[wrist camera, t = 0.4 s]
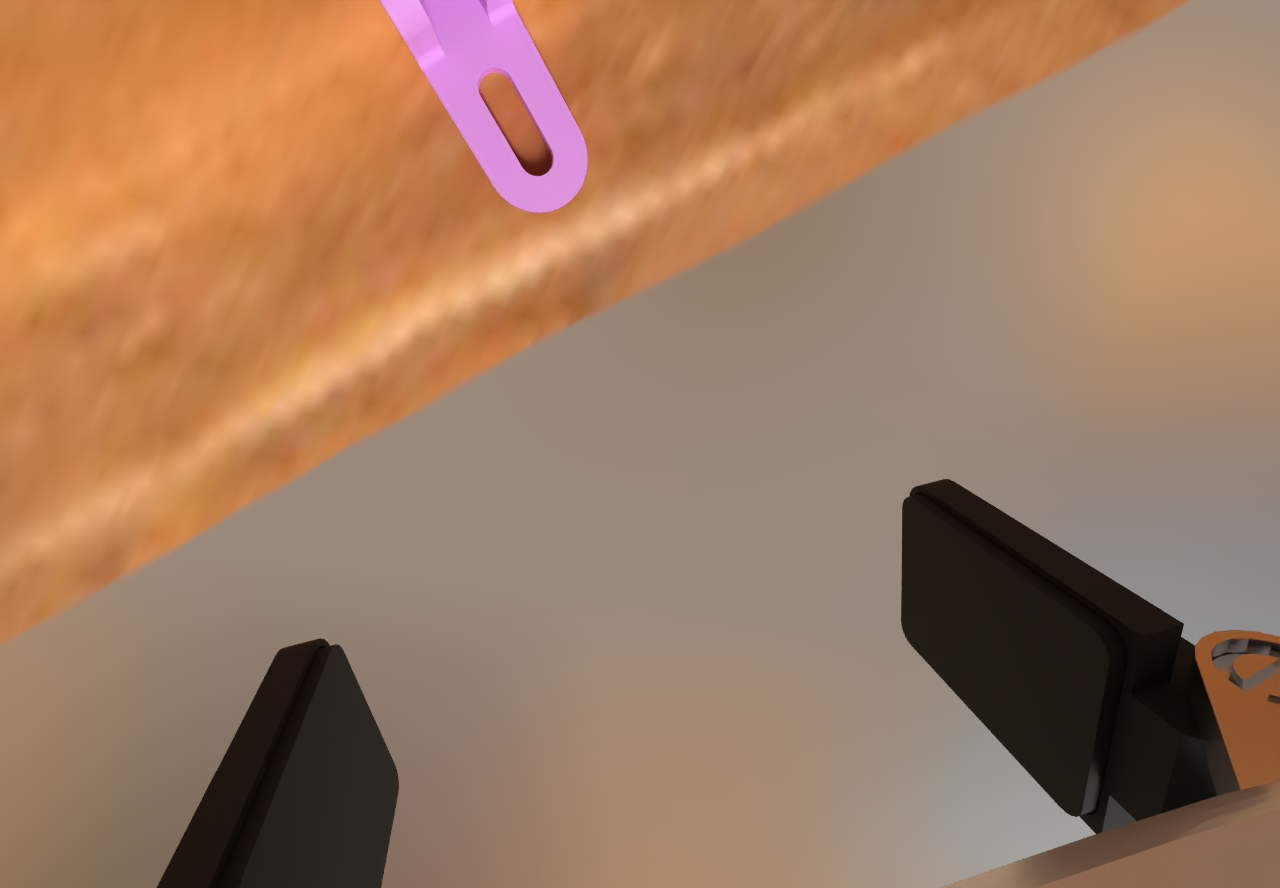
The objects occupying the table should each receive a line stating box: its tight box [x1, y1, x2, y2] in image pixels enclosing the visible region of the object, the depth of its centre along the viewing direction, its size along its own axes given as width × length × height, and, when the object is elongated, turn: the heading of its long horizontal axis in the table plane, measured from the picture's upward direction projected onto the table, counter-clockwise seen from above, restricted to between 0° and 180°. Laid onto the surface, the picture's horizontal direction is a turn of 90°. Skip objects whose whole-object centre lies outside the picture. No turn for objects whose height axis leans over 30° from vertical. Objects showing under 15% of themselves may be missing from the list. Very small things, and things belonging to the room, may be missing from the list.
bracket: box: [380, 0, 587, 212], centre depth 30 cm, size 13×6×7 cm, turn 29°
